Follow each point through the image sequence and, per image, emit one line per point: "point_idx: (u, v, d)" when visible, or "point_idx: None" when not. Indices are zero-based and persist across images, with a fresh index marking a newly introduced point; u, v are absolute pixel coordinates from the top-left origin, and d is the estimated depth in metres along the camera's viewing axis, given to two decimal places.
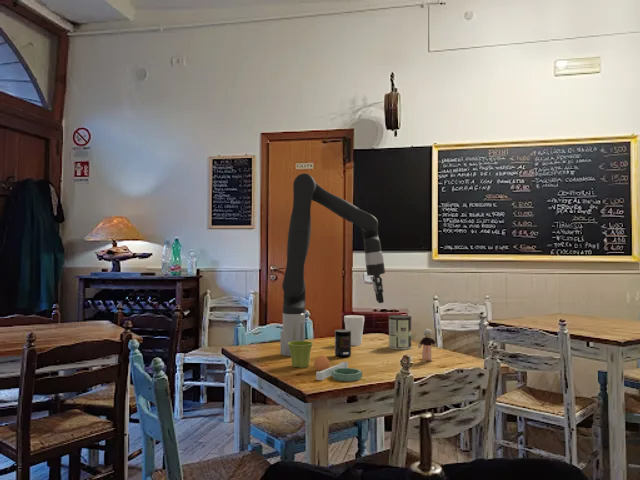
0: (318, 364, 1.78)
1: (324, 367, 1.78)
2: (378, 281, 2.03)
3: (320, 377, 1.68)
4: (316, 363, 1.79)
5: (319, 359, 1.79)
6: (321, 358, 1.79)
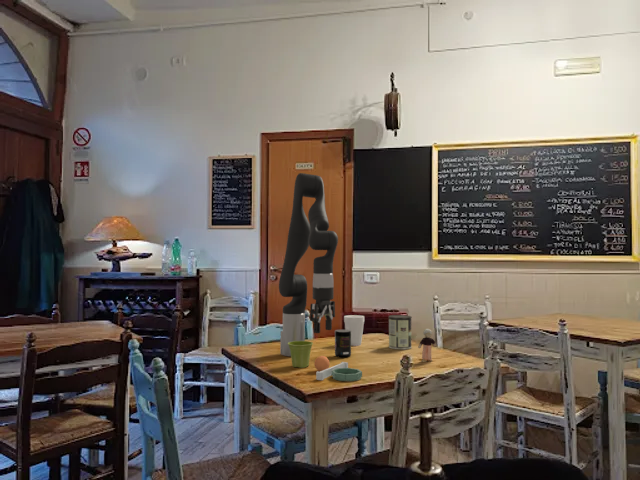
0: (318, 364, 1.78)
1: (324, 367, 1.78)
2: (313, 308, 1.75)
3: (320, 377, 1.68)
4: (316, 363, 1.79)
5: (319, 359, 1.79)
6: (321, 358, 1.79)
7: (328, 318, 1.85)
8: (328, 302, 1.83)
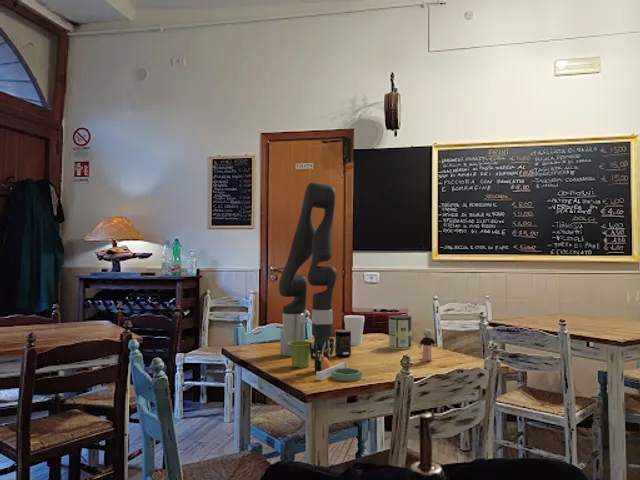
0: None
1: (324, 367, 1.78)
2: (312, 348, 1.75)
3: (320, 377, 1.68)
4: None
5: None
6: (321, 358, 1.79)
7: (325, 356, 1.83)
8: (327, 337, 1.82)
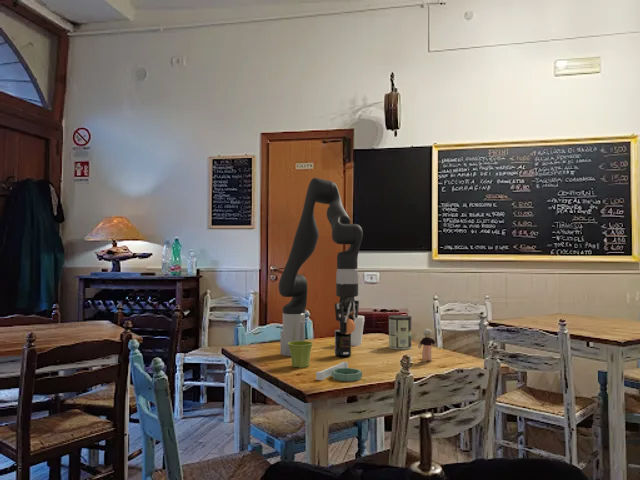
0: None
1: (350, 329, 1.69)
2: (338, 308, 1.66)
3: (320, 377, 1.68)
4: None
5: None
6: None
7: None
8: (353, 298, 1.73)
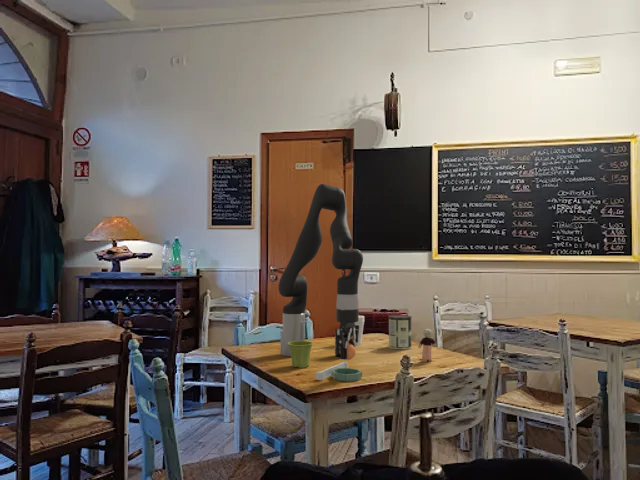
0: None
1: (350, 355, 1.69)
2: (338, 334, 1.66)
3: (320, 377, 1.68)
4: None
5: None
6: (347, 345, 1.70)
7: (351, 344, 1.74)
8: (353, 323, 1.73)
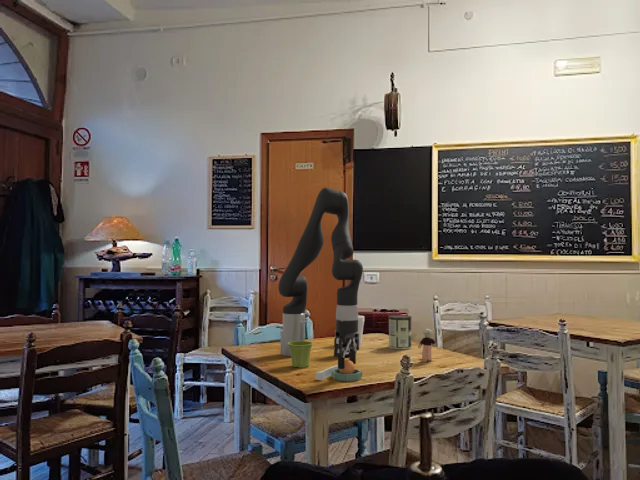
0: None
1: (350, 372, 1.69)
2: (337, 342, 1.66)
3: (320, 377, 1.68)
4: None
5: None
6: (346, 362, 1.70)
7: (352, 351, 1.75)
8: (352, 335, 1.73)
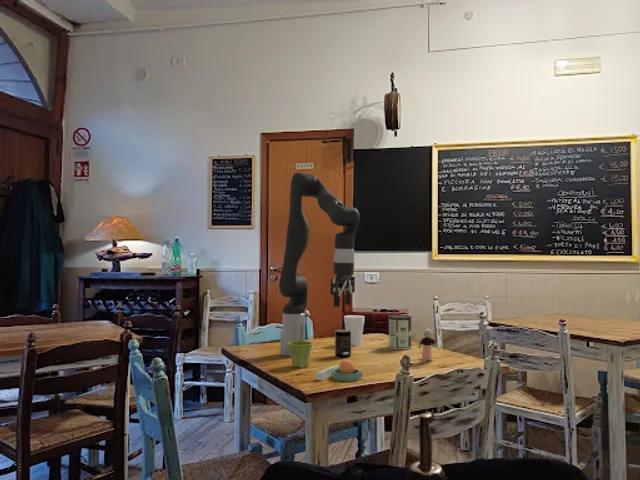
0: (343, 368, 1.69)
1: (349, 372, 1.69)
2: (333, 282, 1.79)
3: (320, 377, 1.68)
4: (341, 367, 1.70)
5: (344, 363, 1.70)
6: (346, 362, 1.70)
7: (348, 293, 1.88)
8: (348, 277, 1.86)
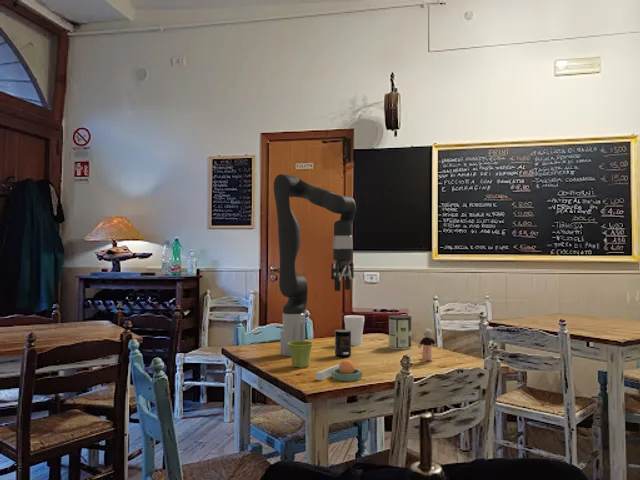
0: (343, 368, 1.69)
1: (349, 372, 1.69)
2: (334, 267, 1.87)
3: (320, 377, 1.68)
4: (341, 368, 1.70)
5: (344, 363, 1.70)
6: (346, 362, 1.70)
7: (347, 278, 1.97)
8: (347, 263, 1.95)
